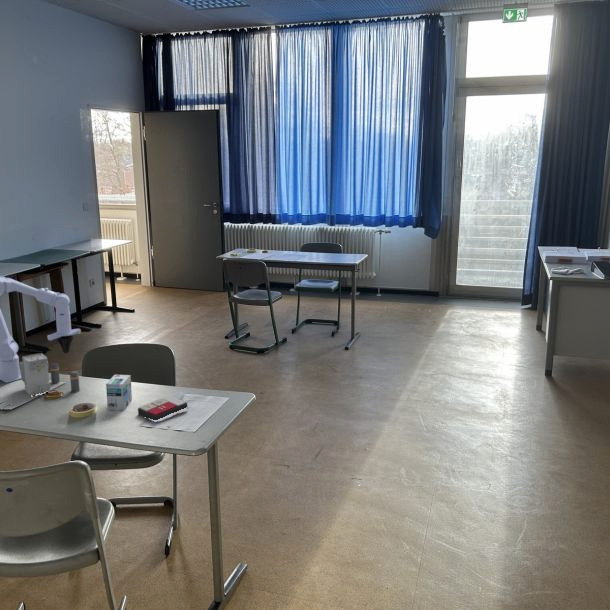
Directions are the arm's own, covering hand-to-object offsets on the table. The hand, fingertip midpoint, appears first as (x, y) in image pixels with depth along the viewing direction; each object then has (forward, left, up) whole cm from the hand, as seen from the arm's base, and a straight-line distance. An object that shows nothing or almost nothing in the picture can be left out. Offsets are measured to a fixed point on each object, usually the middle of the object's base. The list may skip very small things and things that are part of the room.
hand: (65, 352), depth 263 cm
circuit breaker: (+6, -18, -11) cm, 22 cm away
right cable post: (+19, -8, -10) cm, 23 cm away
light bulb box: (+45, -5, -11) cm, 47 cm away
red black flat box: (+63, +1, -11) cm, 64 cm away
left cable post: (+4, -8, -10) cm, 14 cm away
